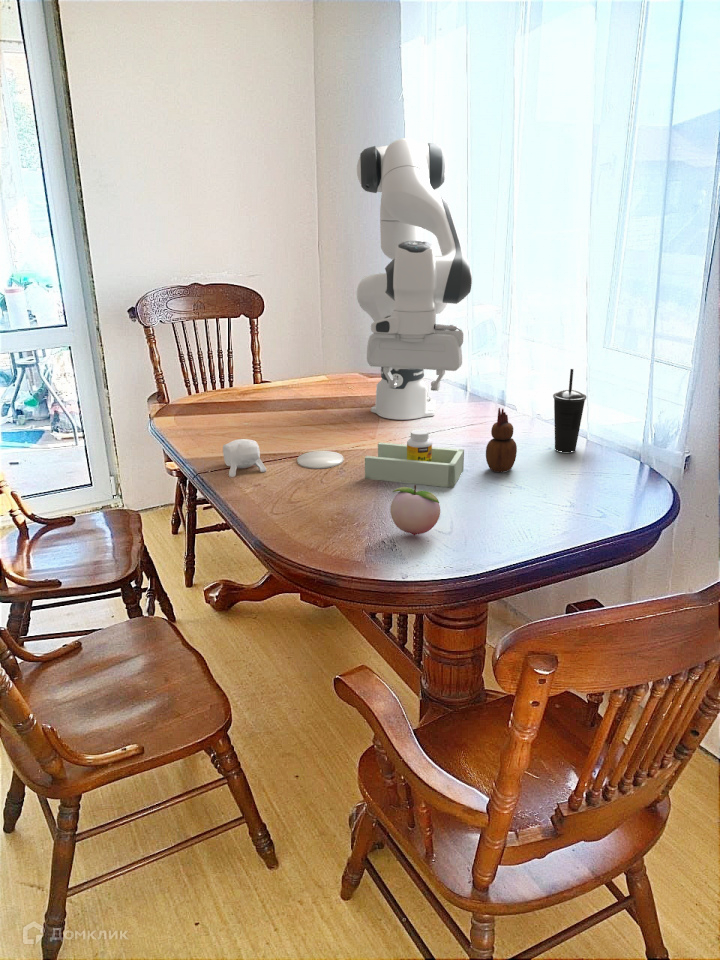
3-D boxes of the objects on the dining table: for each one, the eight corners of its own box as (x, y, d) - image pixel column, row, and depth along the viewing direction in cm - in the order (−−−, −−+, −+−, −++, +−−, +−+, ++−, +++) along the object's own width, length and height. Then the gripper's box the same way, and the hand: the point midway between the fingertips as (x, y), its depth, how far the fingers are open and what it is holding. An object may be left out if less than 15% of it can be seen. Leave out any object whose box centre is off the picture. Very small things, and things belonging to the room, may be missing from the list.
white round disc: (307, 451, 182) (307, 449, 181) (349, 455, 178) (349, 453, 178) (290, 466, 172) (289, 463, 172) (334, 470, 169) (333, 468, 168)
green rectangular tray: (379, 462, 173) (379, 442, 171) (463, 470, 167) (464, 449, 165) (364, 478, 163) (364, 457, 161) (453, 487, 157) (454, 465, 155)
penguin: (223, 479, 174) (235, 476, 160) (217, 443, 174) (228, 437, 159) (258, 473, 177) (273, 470, 163) (252, 438, 177) (266, 432, 162)
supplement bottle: (416, 481, 161) (417, 437, 158) (401, 474, 166) (401, 430, 162) (436, 476, 164) (437, 432, 160) (421, 469, 168) (421, 426, 165)
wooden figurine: (496, 476, 163) (499, 411, 157) (480, 468, 168) (483, 405, 162) (520, 471, 166) (524, 407, 160) (504, 463, 170) (507, 401, 165)
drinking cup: (583, 447, 180) (591, 367, 173) (578, 456, 174) (586, 373, 167) (552, 443, 183) (558, 364, 176) (546, 453, 177) (552, 371, 170)
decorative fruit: (383, 541, 133) (382, 491, 130) (397, 524, 140) (396, 475, 137) (432, 549, 130) (433, 497, 127) (444, 530, 137) (445, 480, 134)
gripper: (466, 323, 152) (464, 388, 157) (373, 319, 158) (374, 382, 163) (460, 327, 146) (458, 395, 151) (363, 324, 153) (364, 389, 158)
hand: (413, 388), depth 157 cm, fingers open, 8 cm apart
